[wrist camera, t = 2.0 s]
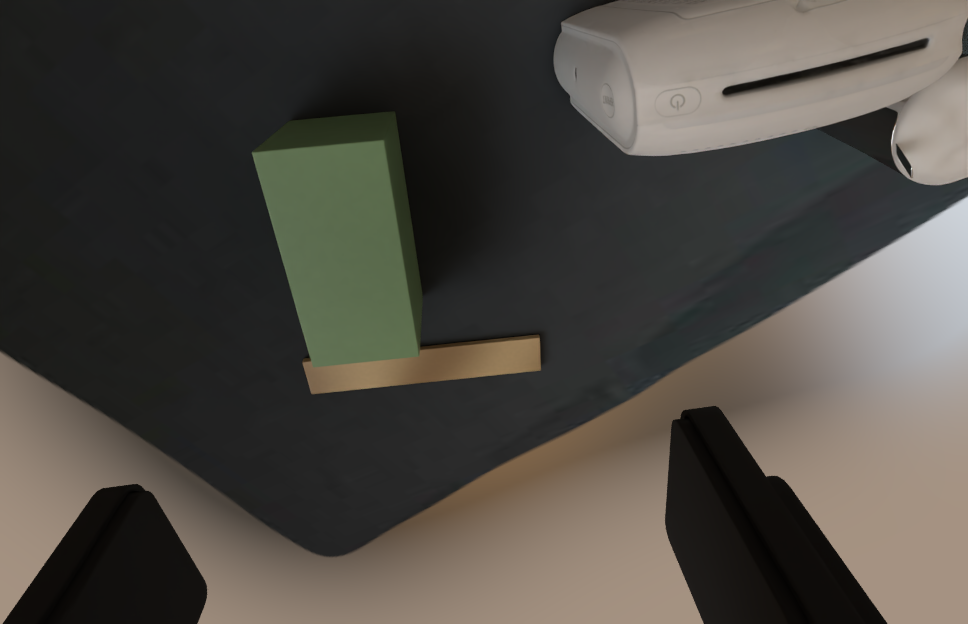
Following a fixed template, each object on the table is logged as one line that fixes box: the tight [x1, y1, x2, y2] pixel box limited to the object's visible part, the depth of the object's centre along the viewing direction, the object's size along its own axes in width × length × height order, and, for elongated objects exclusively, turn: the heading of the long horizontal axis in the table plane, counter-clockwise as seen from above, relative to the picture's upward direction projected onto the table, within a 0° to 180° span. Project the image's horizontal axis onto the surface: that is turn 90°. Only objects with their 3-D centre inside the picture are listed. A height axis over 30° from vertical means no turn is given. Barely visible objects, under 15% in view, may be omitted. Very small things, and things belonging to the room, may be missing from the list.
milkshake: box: [816, 54, 968, 185], centre depth 23 cm, size 5×5×10 cm
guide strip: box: [302, 335, 541, 394], centre depth 33 cm, size 14×2×1 cm, turn 94°
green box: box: [252, 111, 423, 367], centre depth 26 cm, size 5×10×6 cm, turn 4°
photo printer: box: [554, 0, 968, 156], centre depth 20 cm, size 10×4×12 cm, turn 102°
